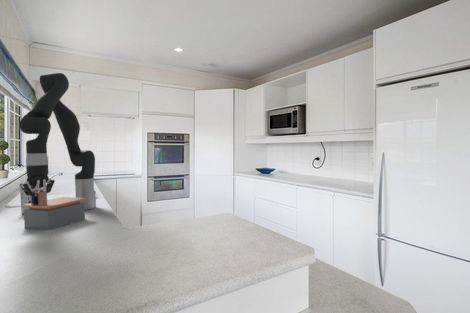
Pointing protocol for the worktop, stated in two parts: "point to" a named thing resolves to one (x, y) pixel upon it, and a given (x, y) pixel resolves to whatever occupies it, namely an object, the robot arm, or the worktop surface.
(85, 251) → the worktop surface
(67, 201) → the lid
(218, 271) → the worktop surface
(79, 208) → the tub
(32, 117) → the robot arm
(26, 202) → the candy bar box
